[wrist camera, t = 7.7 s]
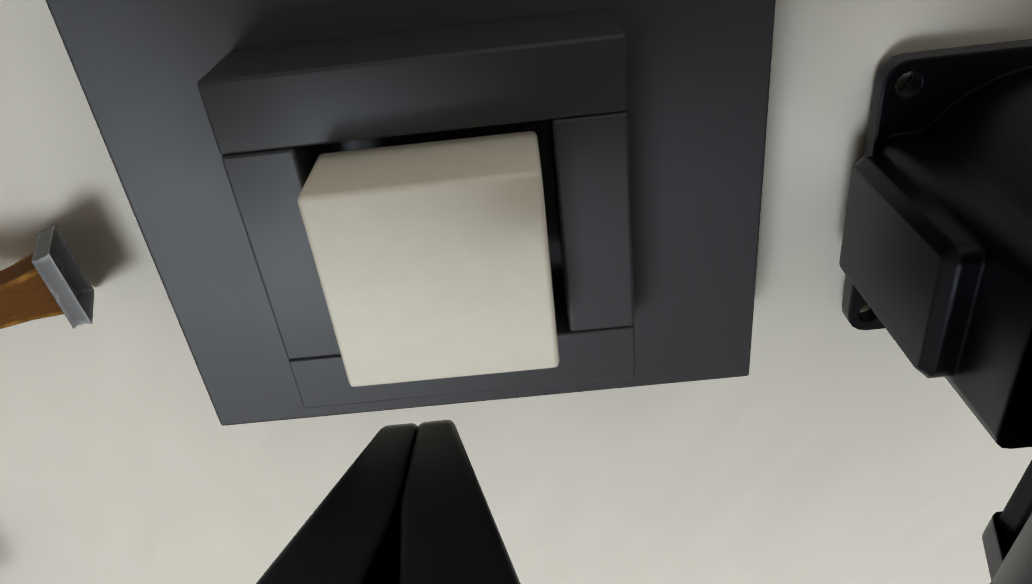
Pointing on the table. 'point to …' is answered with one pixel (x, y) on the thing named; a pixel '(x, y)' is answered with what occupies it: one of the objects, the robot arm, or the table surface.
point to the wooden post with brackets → (46, 285)
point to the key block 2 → (427, 118)
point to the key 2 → (434, 258)
